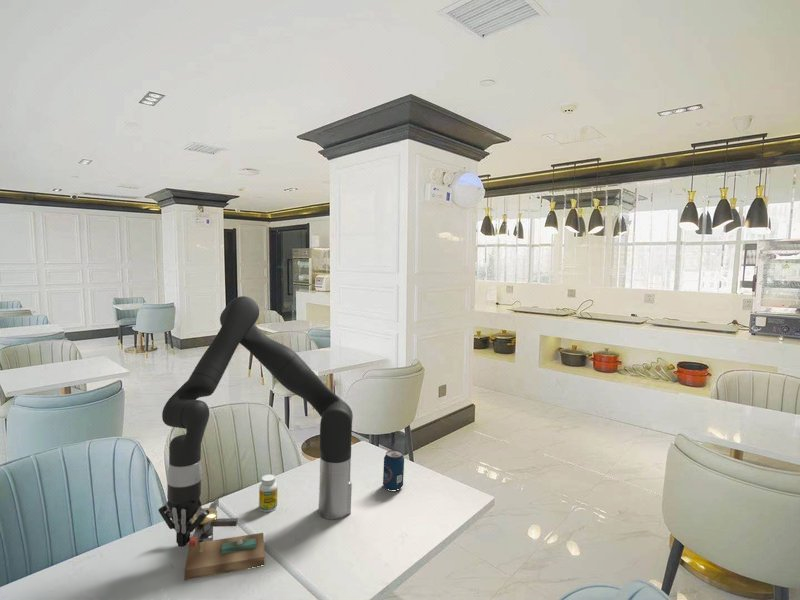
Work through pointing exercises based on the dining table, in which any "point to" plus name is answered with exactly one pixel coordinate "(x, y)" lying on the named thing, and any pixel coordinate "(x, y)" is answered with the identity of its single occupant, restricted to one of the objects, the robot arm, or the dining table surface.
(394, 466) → the soda can
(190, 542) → the capstan
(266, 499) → the supplement bottle
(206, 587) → the dining table surface
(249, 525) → the dining table surface
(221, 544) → the stand
